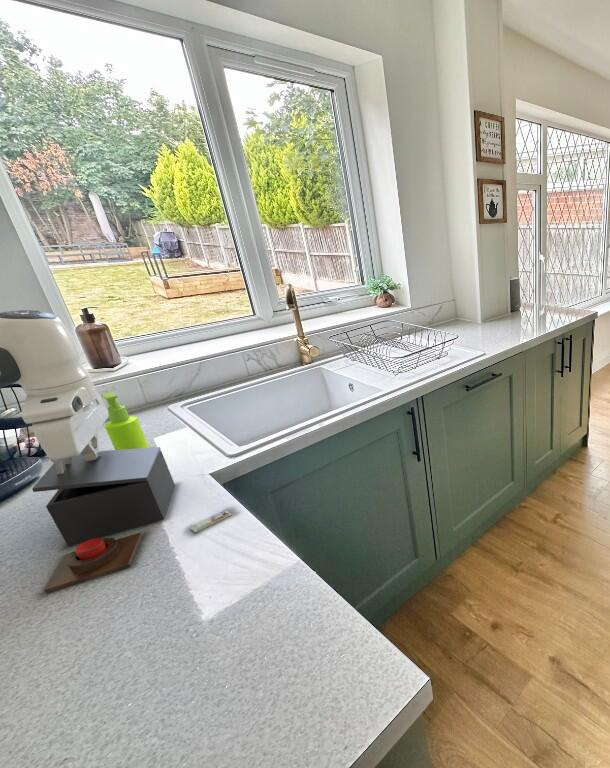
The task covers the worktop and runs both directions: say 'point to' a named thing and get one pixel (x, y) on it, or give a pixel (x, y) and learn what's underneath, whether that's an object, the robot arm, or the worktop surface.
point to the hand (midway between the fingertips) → (94, 457)
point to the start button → (90, 548)
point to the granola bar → (210, 521)
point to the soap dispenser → (123, 426)
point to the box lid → (99, 469)
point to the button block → (95, 563)
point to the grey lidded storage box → (112, 506)
